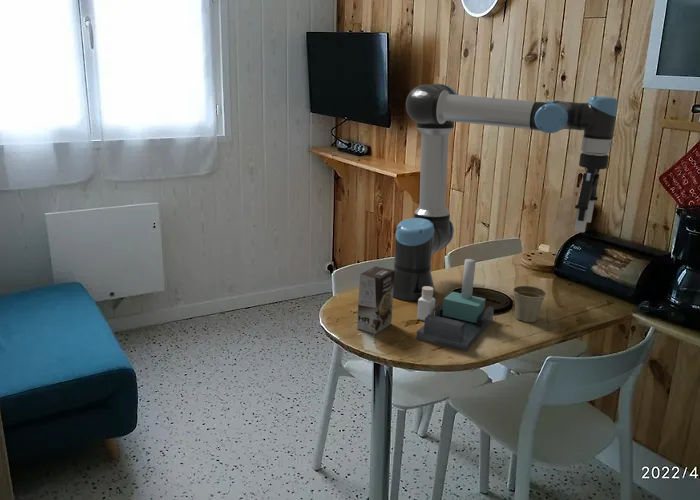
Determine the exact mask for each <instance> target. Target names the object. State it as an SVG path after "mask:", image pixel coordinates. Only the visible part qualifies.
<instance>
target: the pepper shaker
mask: <svg viewBox="0 0 700 500" xmlns="http://www.w3.org/2000/svg"><path fill="white" fill-rule="evenodd" d="M435 309H436V299H435V297H434V296H433V287H429V286H424V287H423V288H422V297H421V298H419V300H418V301H417V312H416V313H417V315H416V318H417V320H421V321H424V322H425V318H426V317H427V316H428V315H429V314H430V315H435Z"/></svg>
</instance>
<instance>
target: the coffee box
mask: <svg viewBox="0 0 700 500" xmlns="http://www.w3.org/2000/svg"><path fill="white" fill-rule="evenodd" d="M394 275H395V270H394V269H390V268H387V267H380V266H373V267H372V268H370V269H367V270H365V271H363V272H362V273H359V285H358V286H359V288H358V303H357V304H358V305H357V306H358V307H357V319H356V320H357V322H356V329H357V330H362V331H364V332H366V333H367V332H368V333H371V334H373V335H377V334H379V333H380V332H381V331H383V330H384V329H386V328H387V327H388V326H390V325H391V324H392V322H393V321H392V318H393V306H394V305H393V304H394V303H393V301H394V297H393V290H394Z"/></svg>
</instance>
